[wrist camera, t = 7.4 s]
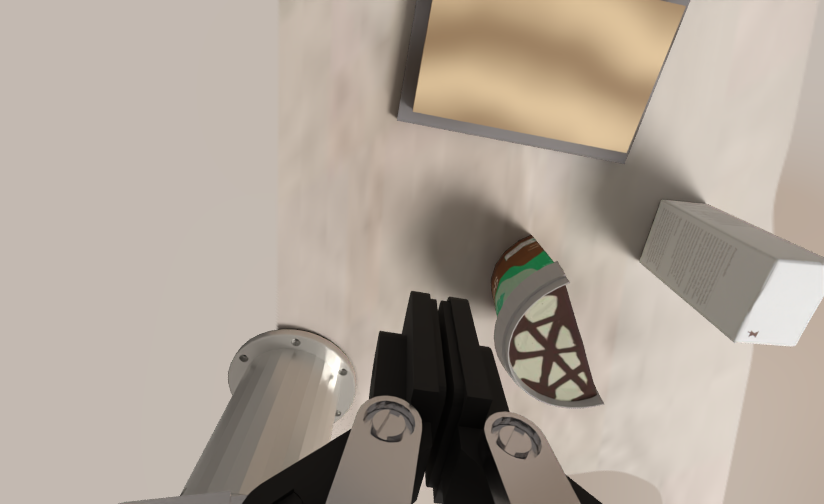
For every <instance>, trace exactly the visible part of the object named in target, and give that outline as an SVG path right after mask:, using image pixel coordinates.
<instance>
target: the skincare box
mask: <svg viewBox="0 0 824 504" xmlns="http://www.w3.org/2000/svg"><path fill="white" fill-rule="evenodd" d="M639 262H640V263H641V264H642V265H643V266H644V267H646V268H647V269H648V270H649V271H650V272H651V273H653V274H654V275H655V276H656V277H657V278H659V279H660V280H661V281H662V282H663V283H665V284H666V285H667V286H668V287H669V288H670V289H672V290H673V291H674V292H675V293H676V294H677V295H679V296H680V297H681V298H682V299H683V300H684V301H686V302H687V303H688V304H689V305H691V306H692V307H693V308H694V309H695V310H696V311H698V312H699V313H700V314H701V315H702V316H703V317H705V318H706V319H707V320H708V321H709V322H711V323H712V324H713V325H714V326H715V327H717V328H718V329H719V330H720V331H721V332H722V333H723V334H725V335H726V336H727V337H728V338H729V339H730V340H732V341H733V342H734V343H752V344H766V345H780V346H795V345H796V344H797V342H798V340H799V339H800V337H801V334H802V333H803V331H804V329H805V328H806V326H807V324H808V322H809V321H810V319H811V317H812V315H813V314H814V312H815V310H816V309H817V307H818V305H819V303H820V302H821V300H822V298H823V296H824V257H822V256H820V255H818V254H816V253H813V252H811V251H809V250H807V249H805V248H802V247H800V246H798V245H796V244H794V243H791V242H789V241H787V240H785V239H782V238H780V237H778V236H776V235H774V234H772V233H769V232H767V231H765V230H763V229H761V228H759V227H756V226H754V225H752V224H750V223H748V222H746V221H743V220H741V219H739V218H737V217H735V216H732V215H730V214H728V213H726V212H724V211H722V210H719V209H717V208H715V207H713V206H711V205H709V204H704V203H692V202H683V201H673V200H661V202H660V205H659V208H658V211H657V214H656V216H655V219H654V222H653V225H652V228H651V230H650V233H649V236H648V239H647V241H646V244H645V247H644V250H643V253H642V255H641V258H640V261H639Z"/></svg>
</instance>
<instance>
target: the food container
mask: <svg viewBox="0 0 824 504" xmlns="http://www.w3.org/2000/svg"><path fill="white" fill-rule="evenodd" d="M569 283H570V282H569V280H568V279H567V277H566V275H565V273H564V271H563V269H562V268H561V266H560V265H559V263H558V261H556V262H553V260H552V259H551V258H550V257H549V256H548V254H547V253H546V252H545V251H544V249H543V248H542V247H541V246H540V245H539V243H538V242H537V241H536V240H535V238H534V237H533V236H532V235H530V236H528V237H526V238H524V239H521V240H519V241H518V242H517V243H515V244H514V245H513V246H512V247H510V248H509V249H508V250H506V251H505V252H504V254H503V255H502V257H501V258H500V259H499V261H498V262H497V264H496V265H495V268H494V271H493V275H492V278H491V291H492V295H493V300H494V305H495V309H496V314H497V320H496V324H495V330H494V343H495V349H496V352H497V356H498V358H499V360H500V362H501V364H502V366H503V367H504V368H505V370H506V371H507V373H508V374H509V376H510V377H511V378H512V380H513V381H514V382H515V383H516V384H517V385H518V386H519V387H520V388H521V389H522V390H524V391H525V392H526V393H527V394H529V395H530V396H532V397H533V398H535V399H537V400H538V401H541V402H543V403H546V404H548V405H552V406H556V407H562V408H589V407H595V406H600V405H604V403H603V401H602V399H601V397H600V395H599V393H598V391H597V390H596V387H595V385H594V382H593V379H592V376H591V372H590V368H589V365H588V361H587V357H586V353H585V349H584V345H583V342H582V339H581V335H580V332H579V329H578V326H577V323H576V319H575V316H574V312H573V309H572V306H571V302H570V299H569V295H568V292H567V289H566V284H569Z"/></svg>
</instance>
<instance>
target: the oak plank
mask: <svg viewBox="0 0 824 504" xmlns="http://www.w3.org/2000/svg"><path fill="white" fill-rule="evenodd" d="M685 8H686V6H683V5H679V4H675V3H670V2H666V1H661V0H432V3H431V9H430V14H429V20H428V26H427V31H426V37H425V42H424V48H423V54H422V59H421V65H420V71H419V76H418V82H417V88H416V93H415V99H414V105H413V112H417V113H422V114H427V115H433V116H438V117H443V118H448V119H453V120H458V121H464V122H469V123H474V124H479V125H484V126H489V127H495V128H500V129H505V130H510V131H515V132H520V133H525V134H531V135H536V136H541V137H546V138H551V139H556V140H562V141H567V142H572V143H577V144H582V145H587V146H593V147H598V148H603V149H608V150H613V151H618V152H624V153H627V151H628V149H629V146H630V144H631V141H632V139H633V136H634V134H635V131H636V129H637V126H638V124H639V121H640V119H641V116H642V114H643V112H644V109H645V107H646V104H647V102H648V99H649V97H650V94H651V92H652V89H653V87H654V84H655V82H656V79H657V77H658V74H659V72H660V70H661V67H662V65H663V62H664V60H665V57H666V55H667V52H668V50H669V47H670V45H671V42H672V40H673V37H674V35H675V33H676V30H677V28H678V25H679V23H680V20H681V18H682V15H683V13H684V10H685Z"/></svg>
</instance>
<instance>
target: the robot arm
mask: <svg viewBox="0 0 824 504" xmlns="http://www.w3.org/2000/svg"><path fill="white" fill-rule="evenodd" d="M228 383H229V387H230V391H231V393H232V395H233V396H232V398H231V400H230V402H229V403H228V405H227V407H226V410H225V411H224V413H223V415H222V417H221V419H220V421H219V423H218V424H217V426H216V428H215V430H214V432H213V434H212V436H211V438H210V440H209V442H208V443H207V445H206V448H205V449H204V451H203V453H202V455H201V457H200V459H199V461H198V462H197V464H196V466H195V468H194V470H193V472H192V474H191V476H190V478H189V480H188V481H187V483H186V485H185V487H184V489H183V491H182V493H181V495H180V496H178V497H168V498H159V499H150V500H141V501H132V502H124V503H120V504H413V503H414V502H415V501H416V500H417V497H418V493H419V490H420V486H421V483H422V480H423V477H424V473H425V478H426V486H427V487H431V488H433V495H434V503H439V504H602V503H601V502H599V501H598V500H597V499H596V498H594V497H593V496H592V495H591V494H589V493H588V492H587V491H586V490H584V489H583V488H582V487H581V486H579V485H578V484H577V483H576V482H574V481H573V480H572V479H570V478H569V477H568V476H567V475H565V473H564V471H563V469H562V467H561V465H560V464H559V462H558V460H557V458H556V456H555V454H554V452H553V450H552V448H551V446H550V445H549V443H548V441H547V439H546V437H545V435H544V434H543V433H542V431H541V430H540V429H539V428H538V427H537V426H536V425H535V424H534V423H533V422H532V421H530V420H528V419H527V418H525V417H524V416H521V415H518V414H516V413H511V412H509V408H508V405H507V402H506V398H505V395H504V391H503V388H502V384H501V381H500V377H499V374H498V370H497V367H496V363H495V360H494V356H493V353H492V350H491V348H489V347H485V346H479V342H478V338H477V334H476V330H475V326H474V322H473V318H472V314H471V310H470V306H469V302H468V300H466V299H460V298H454V297H449V298H448V299H447V301H441V302H440V305H439V309H437V301H436V300H435V299H431V298H430V294H428V293H422V292H415V291H411V293H410V297H409V302H408V307H407V311H406V316H405V321H404V326H403V330H402V334H397V333H391V332H384V331H380V332H379V336H378V341H377V347H376V352H375V358H374V364H373V371H372V378H371V386H370V394H369V400H367V401H366V402H365V403H364V404H362V405H361V407H360V409H359V410H358V412H357V415H356V417H355V420H354V423H353V426H352V429H350V430H349V431H347V432H345V433H344V434H342V435H340V436H339V437H337V438H335V439H334V440H332V441H330V438H331V433H332V428H333V424H334V423H335V422H336V421H338V420H339V419H341V418H342V417H343V416H344V415H345V414H346V413H347V412H348V410H349V409H350V407H351V405H352V403H353V400H354V397H355V392H356V385H357V384H356V374H355V371H354V368H353V366H352V364H351V362H350V361H349V359H348V357H347V356H346V355H345V354H344V353H343V352H342V351H341V349H339V348H338V347H337V346H336V345H334V344H333V343H332V342H330V341H328V340H326V339H325V338H323V337H321V336H318V335H316V334H313V333H310V332H306V331H301V330H293V329H281V330H274V331H268V332H265V333H262V334H259V335H257V336H255V337H254V338H252V339H250V340H249V341H247V342H246V343H245V344H244V345H243V346H242V347H241V348H240V349H239V351H238V352H237V353H236V355H235V357H234V359H233V360H232V362H231V365H230V368H229V372H228Z"/></svg>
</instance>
